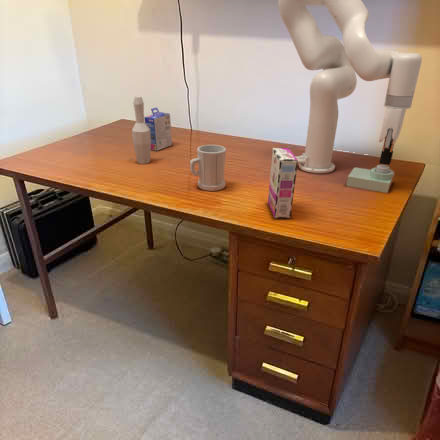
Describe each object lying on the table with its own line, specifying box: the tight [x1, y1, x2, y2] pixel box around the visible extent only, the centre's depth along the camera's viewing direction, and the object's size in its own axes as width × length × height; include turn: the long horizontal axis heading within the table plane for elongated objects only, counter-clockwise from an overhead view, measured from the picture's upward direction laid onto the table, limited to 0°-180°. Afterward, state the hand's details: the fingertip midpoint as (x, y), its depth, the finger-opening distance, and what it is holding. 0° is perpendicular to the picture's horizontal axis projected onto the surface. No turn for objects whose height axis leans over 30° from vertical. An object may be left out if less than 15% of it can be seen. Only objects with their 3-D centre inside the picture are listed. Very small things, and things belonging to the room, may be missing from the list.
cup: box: [189, 144, 227, 192], centre depth 136 cm, size 10×9×12 cm
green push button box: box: [345, 166, 395, 194], centre depth 141 cm, size 13×10×5 cm
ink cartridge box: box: [144, 107, 173, 152], centre depth 170 cm, size 10×6×14 cm, turn 148°
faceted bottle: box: [131, 95, 152, 165], centre depth 153 cm, size 6×6×22 cm
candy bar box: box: [267, 147, 299, 219], centre depth 120 cm, size 11×5×16 cm, turn 5°
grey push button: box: [375, 164, 391, 173], centre depth 139 cm, size 4×4×2 cm
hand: (384, 163), depth 137 cm, fingers closed
